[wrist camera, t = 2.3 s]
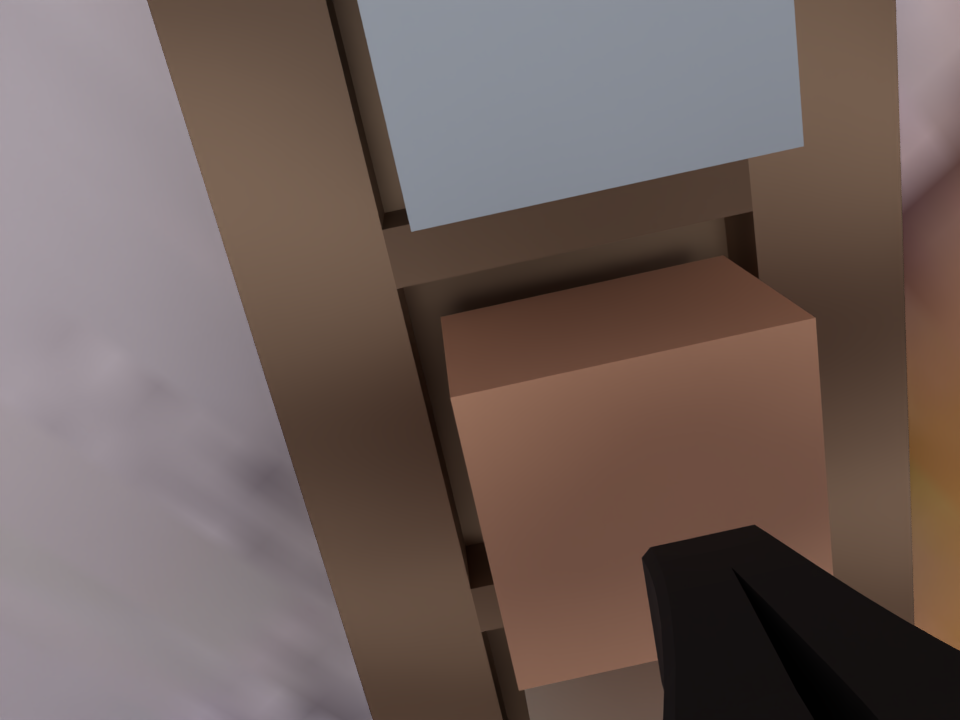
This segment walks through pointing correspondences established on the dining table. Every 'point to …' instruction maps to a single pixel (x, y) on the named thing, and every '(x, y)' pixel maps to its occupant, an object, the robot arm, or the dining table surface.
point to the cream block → (601, 696)
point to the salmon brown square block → (631, 446)
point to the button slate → (575, 95)
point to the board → (509, 277)
